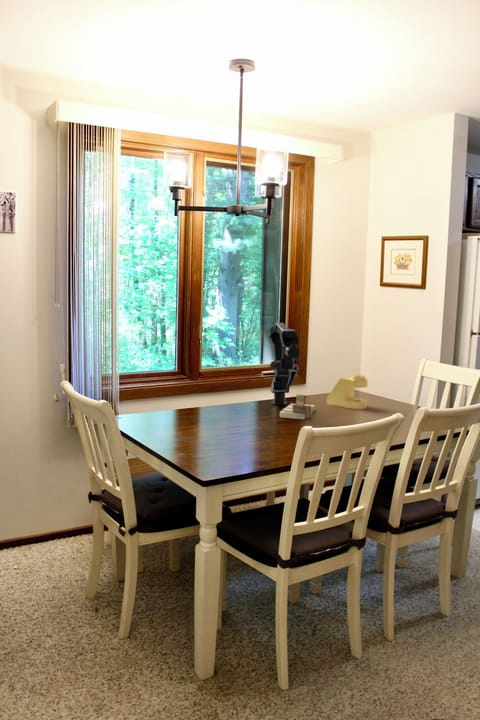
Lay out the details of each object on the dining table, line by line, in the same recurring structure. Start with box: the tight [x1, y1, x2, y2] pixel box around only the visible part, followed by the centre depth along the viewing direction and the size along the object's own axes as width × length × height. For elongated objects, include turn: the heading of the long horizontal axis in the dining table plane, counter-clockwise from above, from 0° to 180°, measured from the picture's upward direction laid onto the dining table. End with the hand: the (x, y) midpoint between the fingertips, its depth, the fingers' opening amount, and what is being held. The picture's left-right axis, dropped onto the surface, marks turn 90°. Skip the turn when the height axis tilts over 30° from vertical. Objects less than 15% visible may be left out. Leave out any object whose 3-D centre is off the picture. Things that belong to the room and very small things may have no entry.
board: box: [279, 403, 315, 420], centre depth 321 cm, size 20×12×3 cm, turn 160°
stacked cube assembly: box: [293, 394, 312, 419], centre depth 313 cm, size 5×8×10 cm, turn 70°
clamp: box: [326, 374, 368, 410], centre depth 339 cm, size 20×9×16 cm, turn 48°
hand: (287, 387), depth 324 cm, fingers open, 9 cm apart
